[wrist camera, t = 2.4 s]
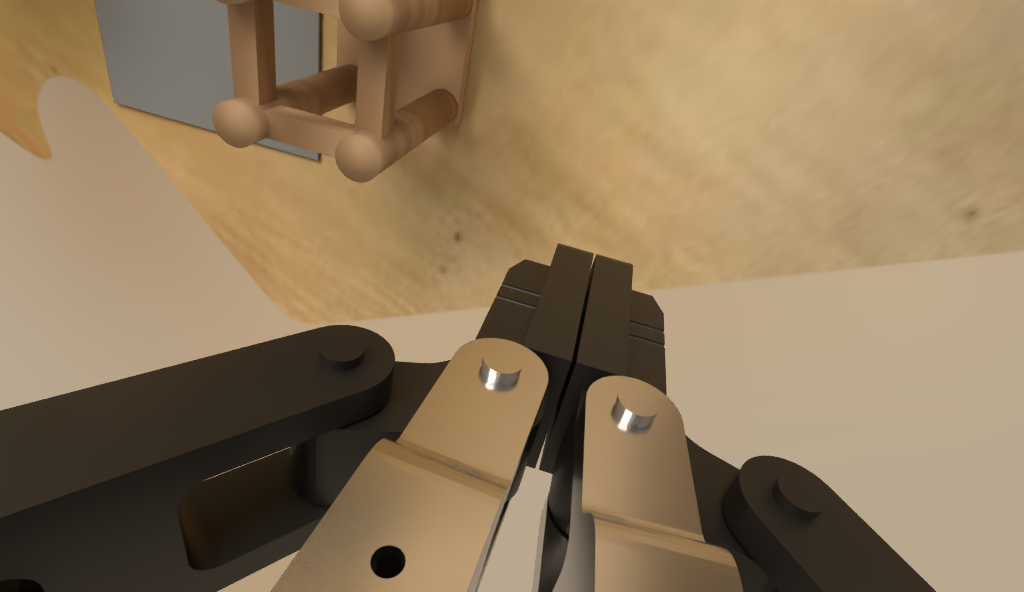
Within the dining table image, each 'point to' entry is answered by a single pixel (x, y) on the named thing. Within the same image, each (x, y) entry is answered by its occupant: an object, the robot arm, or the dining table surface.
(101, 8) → the mat
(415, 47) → the wooden dowel frame
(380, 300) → the dining table surface
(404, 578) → the robot arm
